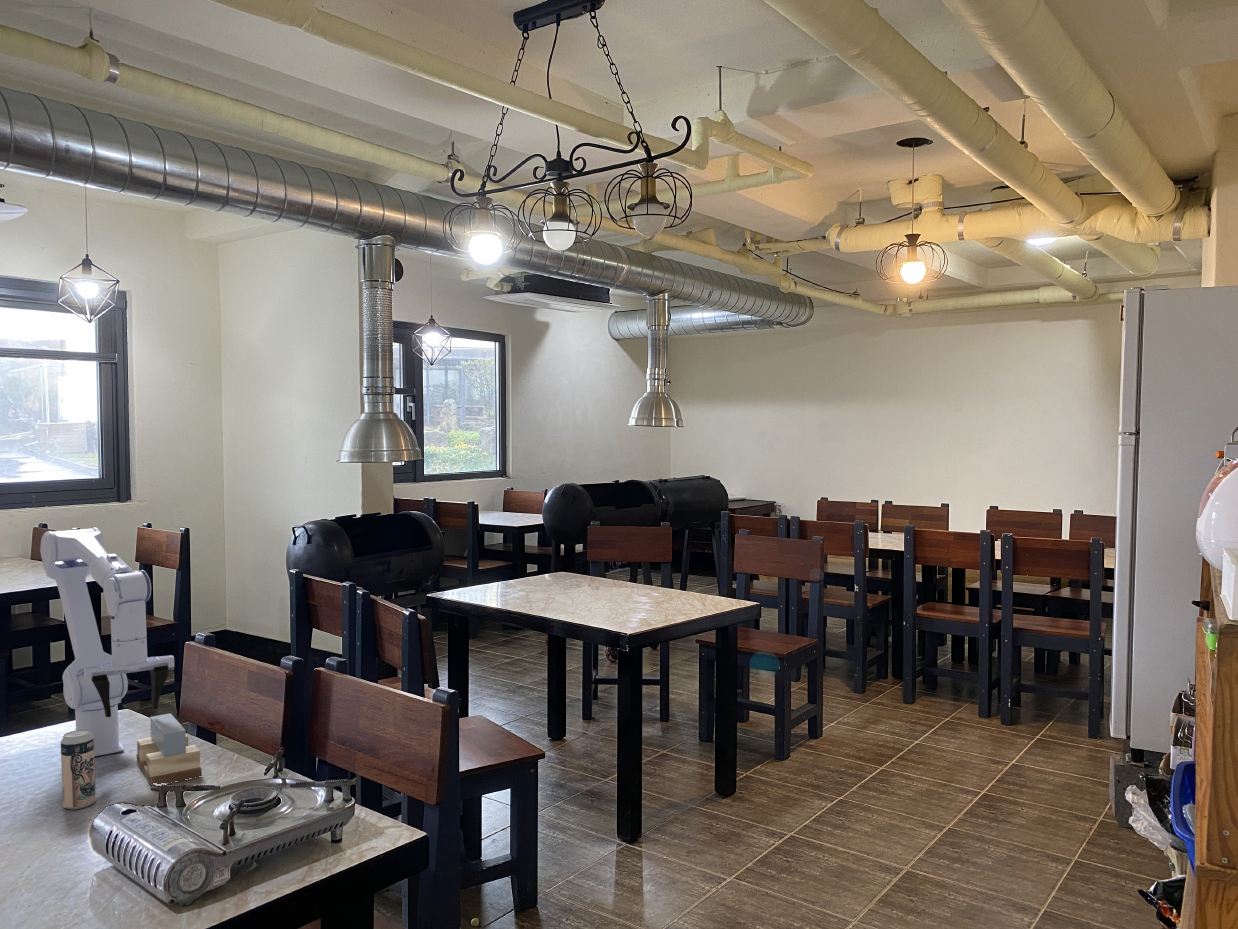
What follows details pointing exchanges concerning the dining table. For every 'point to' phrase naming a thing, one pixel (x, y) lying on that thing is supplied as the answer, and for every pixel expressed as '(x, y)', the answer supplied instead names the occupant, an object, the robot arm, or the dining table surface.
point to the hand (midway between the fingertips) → (131, 711)
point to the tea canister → (78, 769)
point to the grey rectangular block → (168, 734)
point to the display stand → (167, 763)
